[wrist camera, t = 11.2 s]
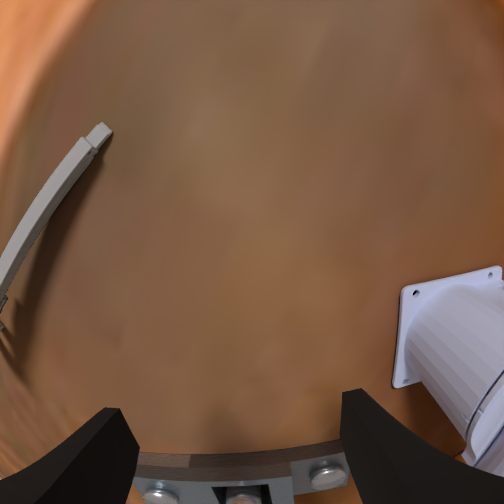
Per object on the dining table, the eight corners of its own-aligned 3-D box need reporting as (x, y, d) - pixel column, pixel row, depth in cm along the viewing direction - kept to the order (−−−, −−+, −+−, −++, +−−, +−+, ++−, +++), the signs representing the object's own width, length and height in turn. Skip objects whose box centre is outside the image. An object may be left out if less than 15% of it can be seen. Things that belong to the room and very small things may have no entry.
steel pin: (255, 461, 21) (258, 529, 14) (263, 476, 22) (266, 539, 15) (223, 465, 21) (219, 531, 14) (232, 480, 22) (231, 542, 15)
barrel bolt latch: (348, 437, 20) (360, 470, 17) (343, 474, 22) (352, 503, 18) (136, 451, 21) (125, 482, 17) (158, 486, 22) (151, 514, 18)
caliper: (1, 340, 19) (-41, 375, 12) (-6, 331, 18) (-49, 364, 12) (115, 132, 15) (55, 114, 9) (104, 122, 15) (42, 101, 9)
